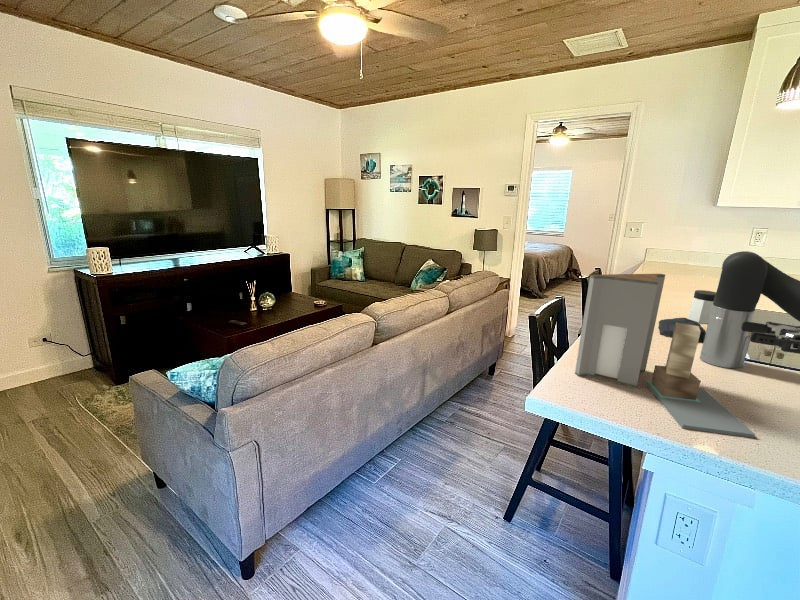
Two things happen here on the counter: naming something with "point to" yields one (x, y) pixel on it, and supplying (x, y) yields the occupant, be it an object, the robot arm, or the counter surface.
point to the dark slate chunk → (669, 324)
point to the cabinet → (618, 326)
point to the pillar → (682, 350)
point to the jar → (701, 306)
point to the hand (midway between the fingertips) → (746, 330)
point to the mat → (702, 414)
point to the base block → (675, 384)
